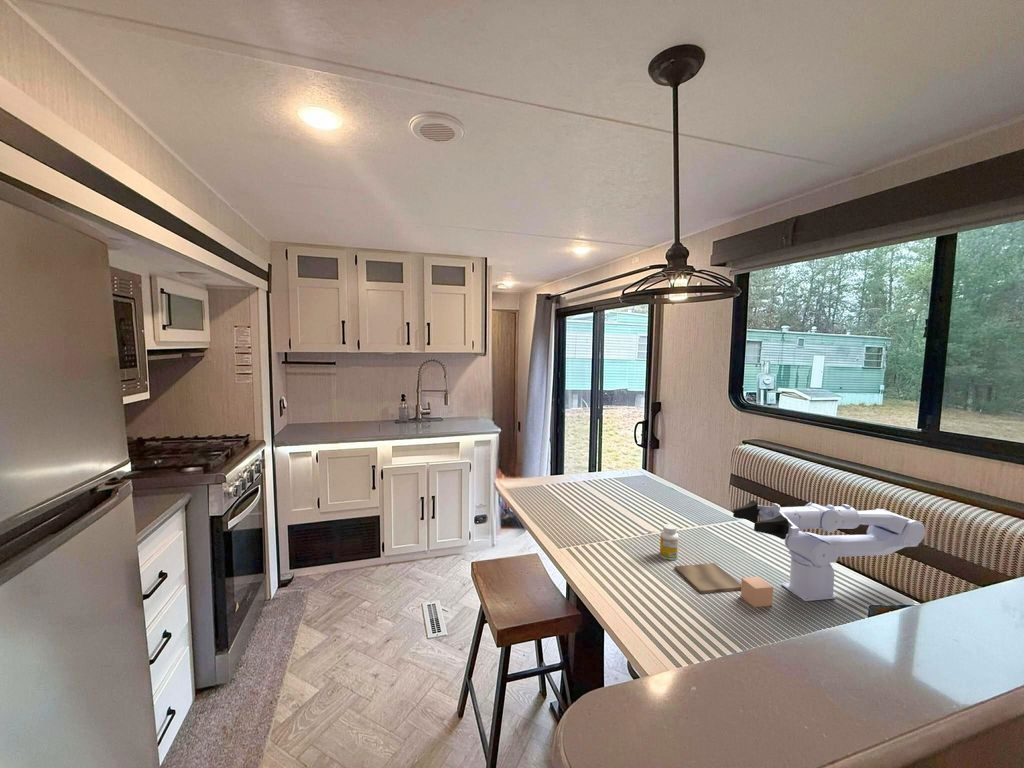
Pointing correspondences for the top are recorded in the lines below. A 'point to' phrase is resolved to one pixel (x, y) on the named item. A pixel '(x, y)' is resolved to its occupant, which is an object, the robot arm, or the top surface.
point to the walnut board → (708, 578)
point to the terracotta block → (757, 591)
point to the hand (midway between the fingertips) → (744, 519)
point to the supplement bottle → (669, 542)
